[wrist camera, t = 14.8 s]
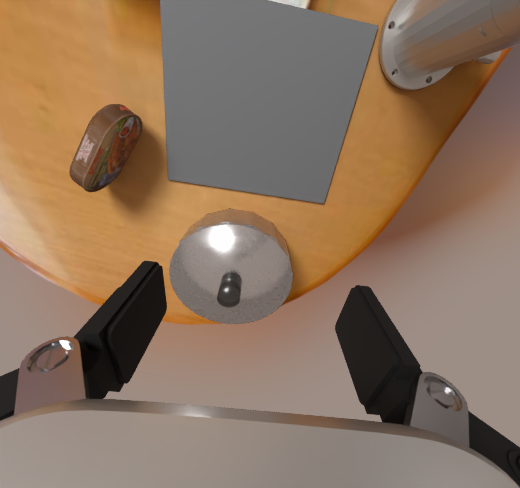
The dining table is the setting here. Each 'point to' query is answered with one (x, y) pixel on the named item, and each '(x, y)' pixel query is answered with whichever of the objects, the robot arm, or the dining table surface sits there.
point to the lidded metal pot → (232, 267)
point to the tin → (105, 147)
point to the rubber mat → (259, 93)
